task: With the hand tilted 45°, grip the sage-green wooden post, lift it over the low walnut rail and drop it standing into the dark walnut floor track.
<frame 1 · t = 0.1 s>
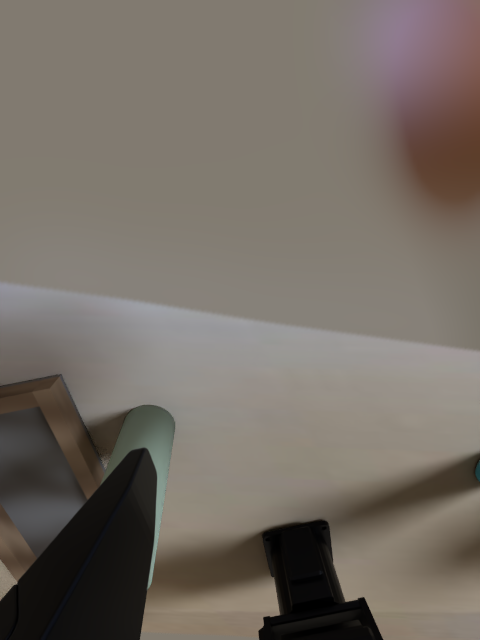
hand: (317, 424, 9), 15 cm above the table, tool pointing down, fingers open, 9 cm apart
track: (46, 486, 27), on the table
post: (149, 425, 26), on the table
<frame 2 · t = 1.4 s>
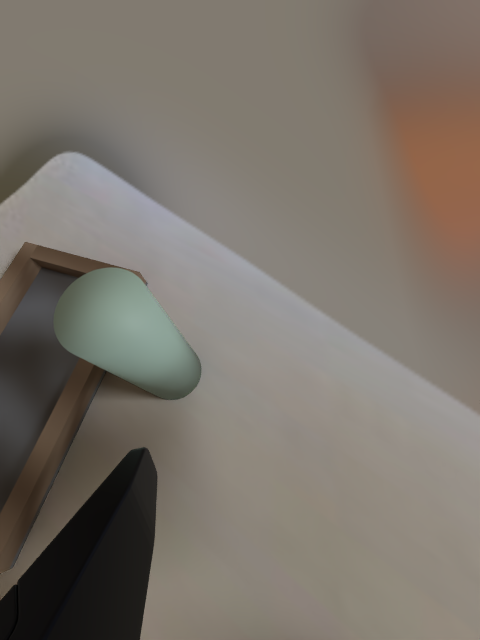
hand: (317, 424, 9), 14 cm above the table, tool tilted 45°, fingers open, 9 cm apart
track: (28, 383, 24), on the table
post: (173, 371, 23), on the table
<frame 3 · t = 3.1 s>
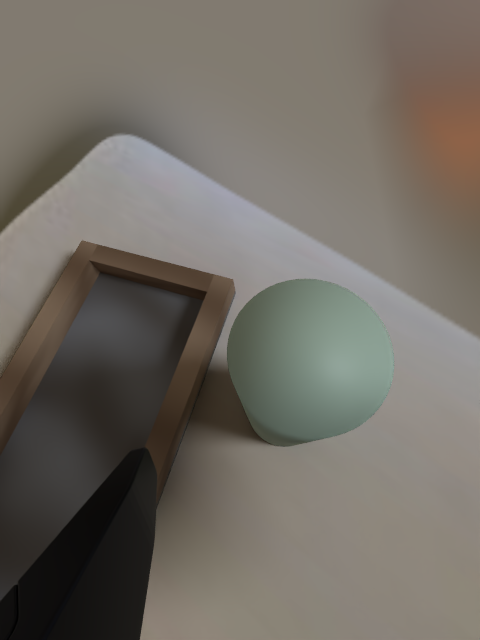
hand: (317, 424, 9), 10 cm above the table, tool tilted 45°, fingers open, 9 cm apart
track: (93, 421, 19), on the table
post: (283, 407, 18), on the table
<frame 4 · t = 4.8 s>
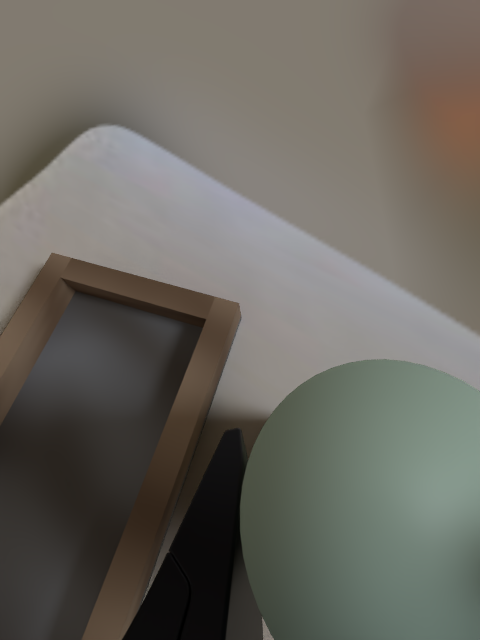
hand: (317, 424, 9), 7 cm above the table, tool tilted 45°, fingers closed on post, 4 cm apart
track: (61, 485, 15), on the table
post: (303, 469, 14), on the table, touching gripper
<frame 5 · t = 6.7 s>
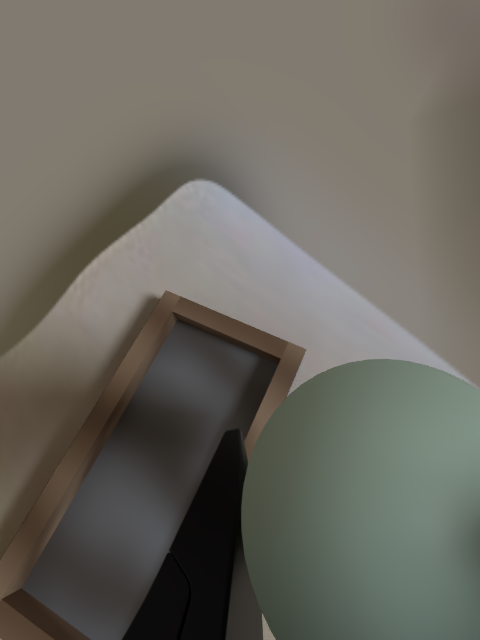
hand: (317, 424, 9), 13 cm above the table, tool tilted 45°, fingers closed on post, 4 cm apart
track: (164, 465, 20), on the table
post: (303, 469, 14), point 6 cm above the table, touching gripper
when the fingers open (8 cm above the table, at t = 8.9 s): post drops 1 cm, resting on track.
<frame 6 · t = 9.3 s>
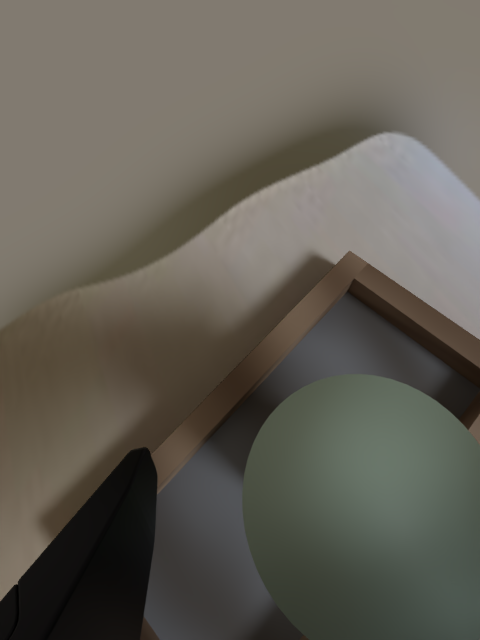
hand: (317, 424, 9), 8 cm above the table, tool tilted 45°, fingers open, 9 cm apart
track: (299, 467, 16), on the table
post: (300, 468, 15), resting on track
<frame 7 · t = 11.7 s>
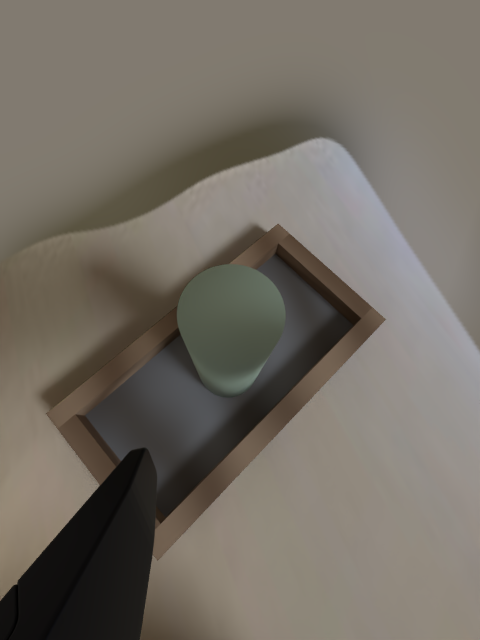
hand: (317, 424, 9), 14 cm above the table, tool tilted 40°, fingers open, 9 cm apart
track: (227, 368, 23), on the table
post: (228, 367, 22), resting on track
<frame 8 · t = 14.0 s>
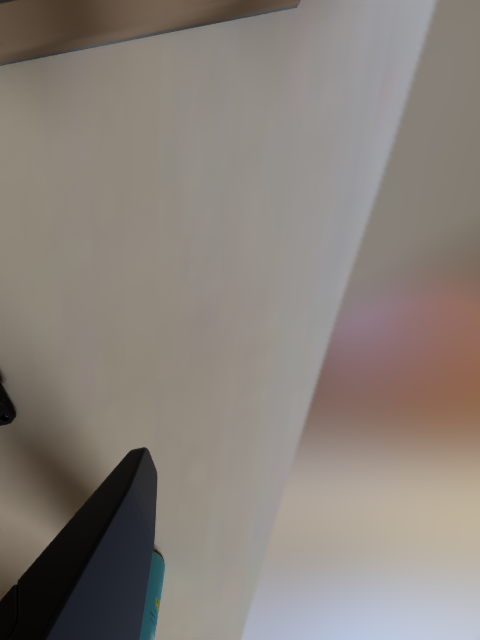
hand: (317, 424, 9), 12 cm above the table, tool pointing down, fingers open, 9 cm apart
tube: (138, 561, 28), on the table
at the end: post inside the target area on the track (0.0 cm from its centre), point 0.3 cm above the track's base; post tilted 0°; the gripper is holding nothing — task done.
